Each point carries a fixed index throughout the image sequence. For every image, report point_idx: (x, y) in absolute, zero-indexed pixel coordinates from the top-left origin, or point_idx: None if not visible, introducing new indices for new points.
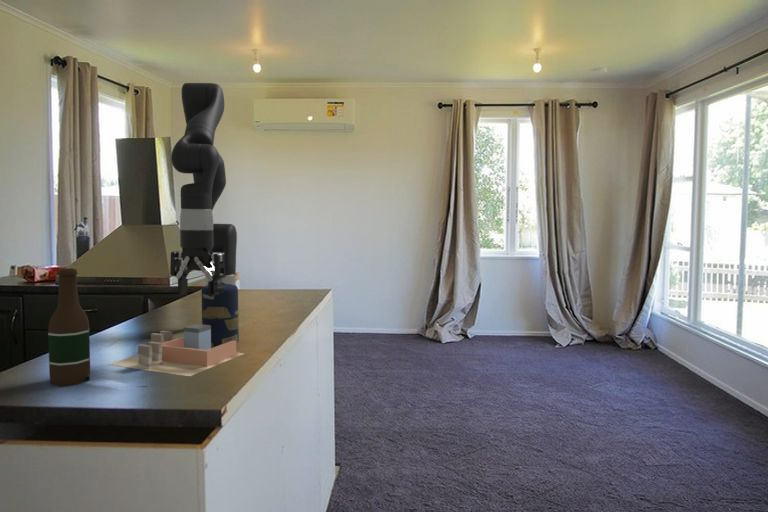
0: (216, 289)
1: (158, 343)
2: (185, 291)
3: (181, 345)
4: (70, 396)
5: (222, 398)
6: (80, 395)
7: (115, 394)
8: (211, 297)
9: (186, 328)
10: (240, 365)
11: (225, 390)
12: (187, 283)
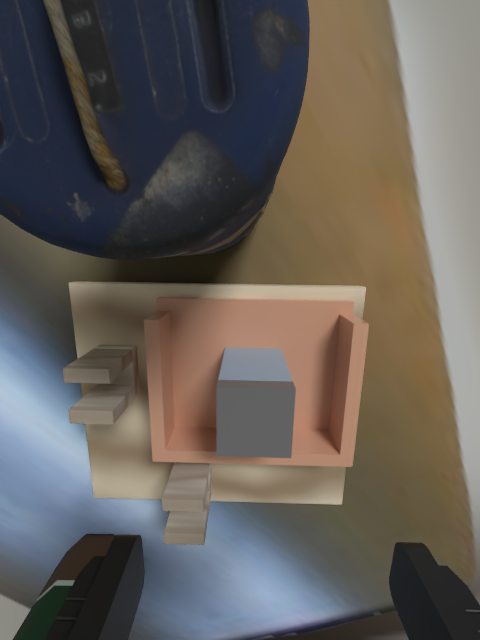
0: (475, 622)
1: (200, 509)
2: (135, 567)
3: (167, 356)
4: (185, 611)
5: (460, 545)
6: (197, 604)
7: (251, 584)
8: (168, 256)
9: (231, 454)
10: (384, 351)
11: (444, 511)
12: (104, 631)
